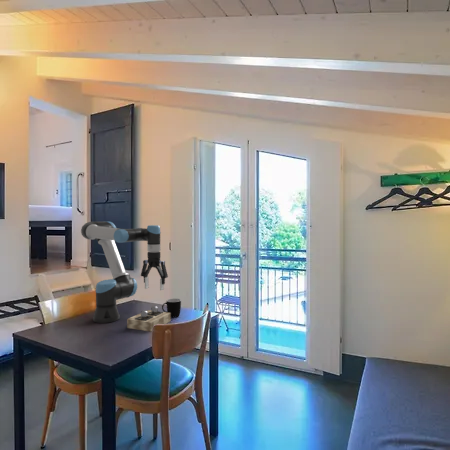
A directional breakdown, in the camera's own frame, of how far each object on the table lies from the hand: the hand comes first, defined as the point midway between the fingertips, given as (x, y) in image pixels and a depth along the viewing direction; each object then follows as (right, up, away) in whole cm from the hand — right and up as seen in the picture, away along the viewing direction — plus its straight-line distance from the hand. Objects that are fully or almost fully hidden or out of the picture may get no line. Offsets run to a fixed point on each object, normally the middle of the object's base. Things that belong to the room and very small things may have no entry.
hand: (154, 289), depth 208 cm
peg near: (-4, -16, -9) cm, 19 cm away
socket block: (-2, -20, -4) cm, 20 cm away
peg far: (0, -16, +1) cm, 16 cm away
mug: (+8, -19, +12) cm, 25 cm away
